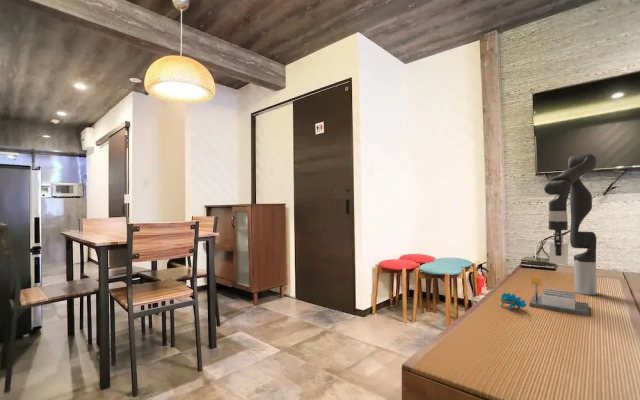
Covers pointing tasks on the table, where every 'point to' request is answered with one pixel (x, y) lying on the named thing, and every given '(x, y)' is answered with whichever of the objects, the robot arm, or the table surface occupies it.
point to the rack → (557, 300)
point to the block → (558, 259)
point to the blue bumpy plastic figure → (512, 300)
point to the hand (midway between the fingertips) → (558, 255)
